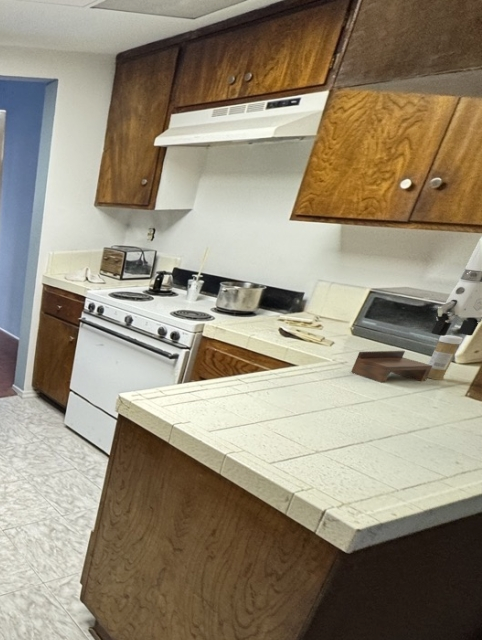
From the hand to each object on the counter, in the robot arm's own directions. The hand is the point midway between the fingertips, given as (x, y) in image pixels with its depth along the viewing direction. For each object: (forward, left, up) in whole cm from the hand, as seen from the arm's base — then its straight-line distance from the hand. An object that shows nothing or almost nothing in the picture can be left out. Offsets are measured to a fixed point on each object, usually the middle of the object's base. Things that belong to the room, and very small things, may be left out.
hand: (451, 334), depth 142 cm
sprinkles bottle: (0, 0, -14) cm, 14 cm away
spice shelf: (+2, +14, -14) cm, 20 cm away
